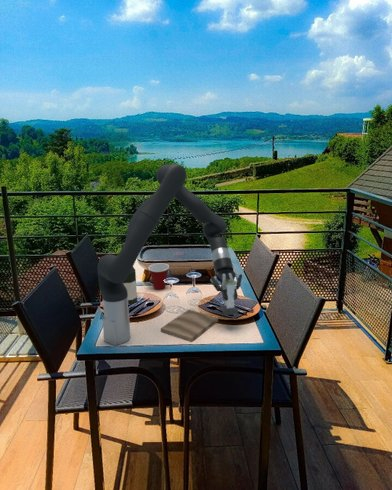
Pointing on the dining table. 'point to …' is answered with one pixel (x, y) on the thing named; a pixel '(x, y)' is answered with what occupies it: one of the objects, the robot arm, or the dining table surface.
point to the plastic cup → (159, 275)
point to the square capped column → (229, 298)
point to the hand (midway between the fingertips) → (231, 299)
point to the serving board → (189, 325)
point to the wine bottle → (131, 286)
